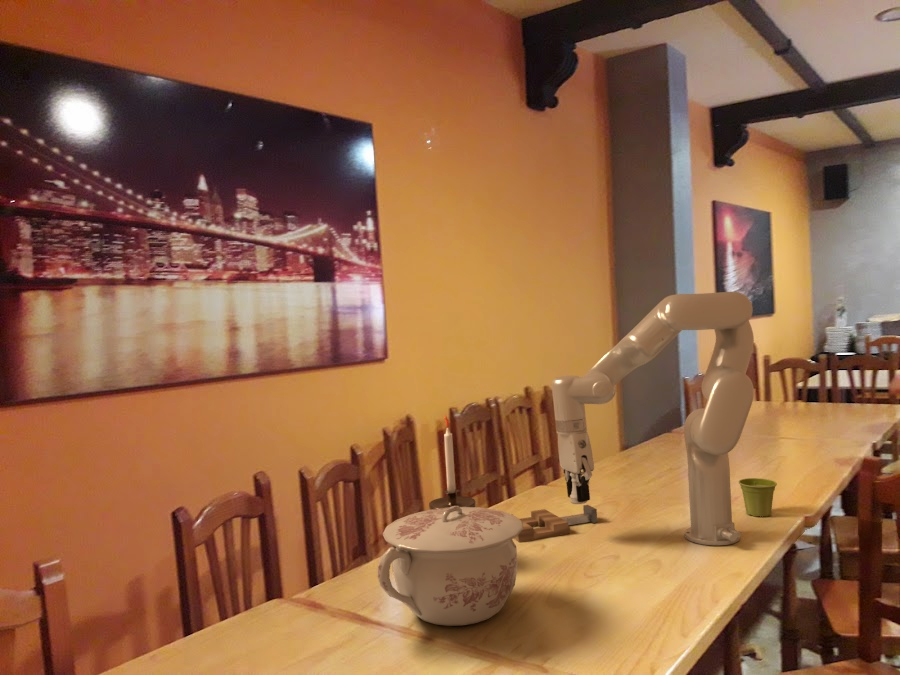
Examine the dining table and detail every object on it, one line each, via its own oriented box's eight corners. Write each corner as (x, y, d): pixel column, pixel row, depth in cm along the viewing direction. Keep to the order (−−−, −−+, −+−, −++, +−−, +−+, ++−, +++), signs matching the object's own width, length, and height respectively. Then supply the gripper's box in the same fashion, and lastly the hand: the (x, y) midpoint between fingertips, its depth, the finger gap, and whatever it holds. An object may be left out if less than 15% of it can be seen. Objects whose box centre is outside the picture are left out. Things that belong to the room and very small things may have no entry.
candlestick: (426, 560, 164) (417, 414, 163) (468, 552, 168) (460, 409, 167) (442, 575, 154) (432, 419, 153) (486, 566, 158) (477, 414, 157)
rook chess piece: (575, 498, 174) (572, 467, 174) (591, 500, 172) (588, 468, 171) (566, 503, 171) (563, 471, 171) (582, 505, 168) (579, 472, 168)
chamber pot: (518, 579, 149) (513, 484, 148) (539, 638, 122) (532, 522, 121) (388, 589, 148) (383, 493, 148) (380, 650, 121) (372, 533, 120)
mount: (568, 533, 178) (568, 522, 178) (518, 542, 174) (518, 530, 173) (545, 519, 191) (544, 509, 191) (498, 527, 187) (497, 516, 187)
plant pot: (774, 509, 188) (773, 478, 188) (781, 519, 179) (779, 486, 179) (737, 509, 191) (736, 477, 190) (742, 519, 181) (741, 486, 181)
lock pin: (597, 522, 185) (596, 509, 185) (559, 528, 182) (558, 515, 182) (588, 517, 190) (587, 504, 190) (550, 523, 187) (550, 510, 186)
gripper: (601, 427, 164) (609, 503, 164) (569, 420, 180) (576, 489, 180) (573, 432, 162) (581, 509, 162) (542, 424, 178) (550, 494, 178)
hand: (578, 498), depth 171 cm, fingers closed on rook chess piece, 4 cm apart
